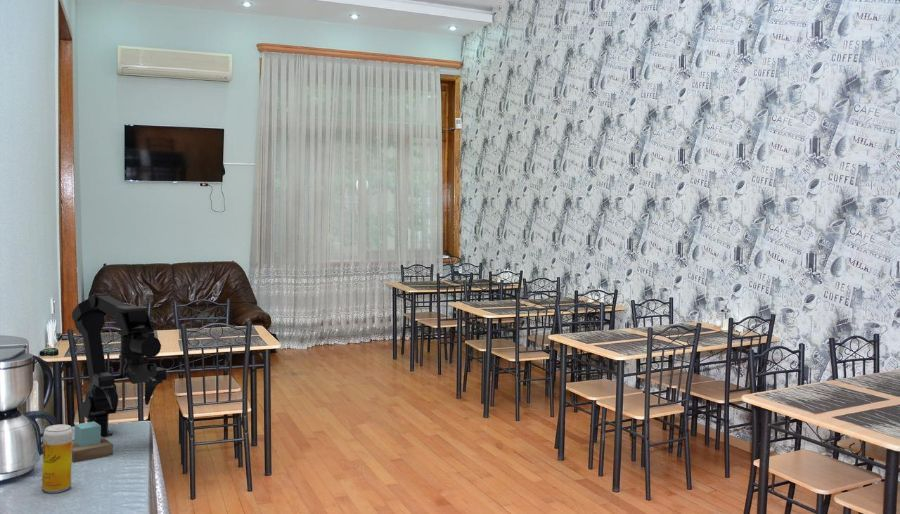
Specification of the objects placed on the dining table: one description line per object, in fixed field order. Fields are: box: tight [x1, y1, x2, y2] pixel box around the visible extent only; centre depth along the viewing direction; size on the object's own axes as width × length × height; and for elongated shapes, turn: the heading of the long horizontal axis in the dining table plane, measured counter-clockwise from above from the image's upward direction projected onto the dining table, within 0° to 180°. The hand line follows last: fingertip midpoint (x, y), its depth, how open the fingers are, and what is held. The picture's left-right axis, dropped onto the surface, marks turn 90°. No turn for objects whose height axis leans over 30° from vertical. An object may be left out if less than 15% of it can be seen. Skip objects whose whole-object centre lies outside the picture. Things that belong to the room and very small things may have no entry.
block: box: [74, 421, 101, 447], centre depth 195 cm, size 5×5×5 cm
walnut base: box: [72, 436, 114, 463], centre depth 195 cm, size 10×10×3 cm
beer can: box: [41, 424, 73, 494], centre depth 170 cm, size 6×6×15 cm
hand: (129, 407), depth 200 cm, fingers open, 9 cm apart
